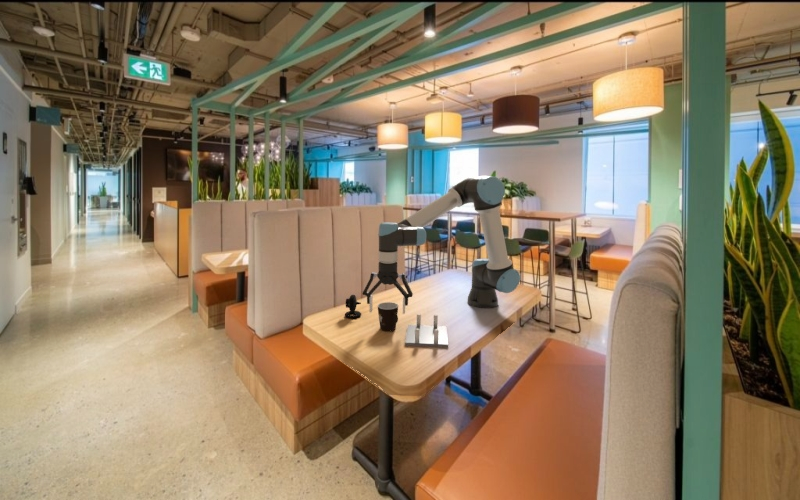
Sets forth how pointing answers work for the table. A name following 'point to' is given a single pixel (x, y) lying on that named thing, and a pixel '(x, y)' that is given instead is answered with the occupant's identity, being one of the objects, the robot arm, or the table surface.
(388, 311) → the coffee mug
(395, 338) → the table surface
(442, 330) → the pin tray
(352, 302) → the webcam
